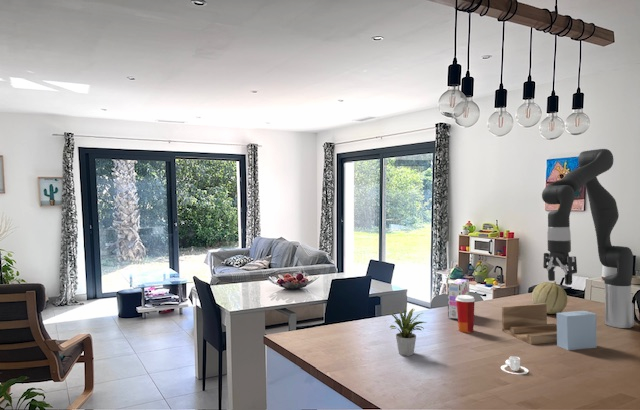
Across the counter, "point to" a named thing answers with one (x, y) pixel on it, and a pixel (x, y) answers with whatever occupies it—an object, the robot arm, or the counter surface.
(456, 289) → the candy box
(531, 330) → the track
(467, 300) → the paper cup
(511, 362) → the teacup and saucer
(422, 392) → the counter surface
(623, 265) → the robot arm
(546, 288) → the cantaloupe
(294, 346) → the counter surface
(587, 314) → the panel
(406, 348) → the house plant
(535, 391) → the counter surface
